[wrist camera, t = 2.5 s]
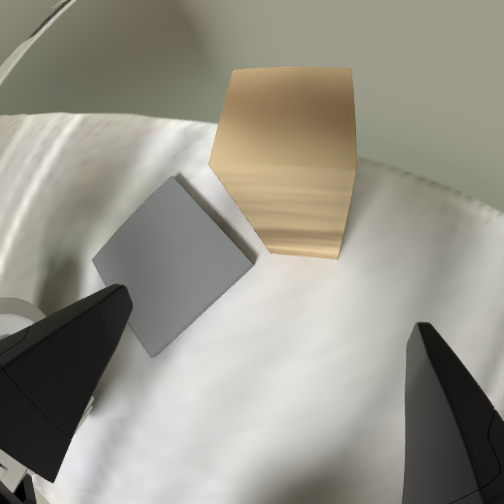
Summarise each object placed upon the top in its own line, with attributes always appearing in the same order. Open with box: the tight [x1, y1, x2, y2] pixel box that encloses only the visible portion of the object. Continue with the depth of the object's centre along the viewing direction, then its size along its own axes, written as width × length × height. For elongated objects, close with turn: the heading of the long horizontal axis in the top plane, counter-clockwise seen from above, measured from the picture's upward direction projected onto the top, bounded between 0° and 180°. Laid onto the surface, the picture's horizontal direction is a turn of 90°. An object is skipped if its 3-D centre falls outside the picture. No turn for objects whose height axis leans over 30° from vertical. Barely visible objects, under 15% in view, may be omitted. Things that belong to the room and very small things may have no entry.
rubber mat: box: [92, 176, 254, 357], centre depth 24 cm, size 11×11×1 cm
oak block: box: [209, 67, 357, 259], centre depth 16 cm, size 5×5×13 cm
